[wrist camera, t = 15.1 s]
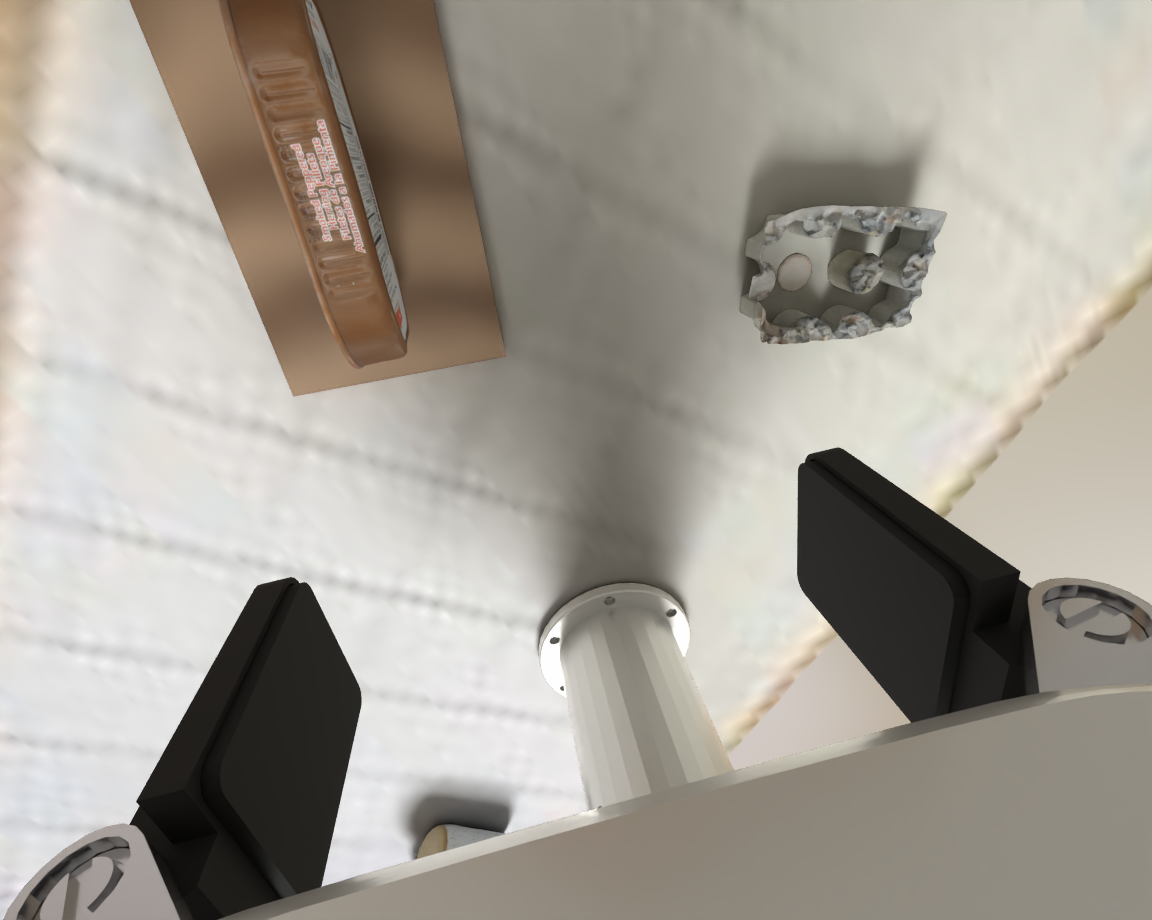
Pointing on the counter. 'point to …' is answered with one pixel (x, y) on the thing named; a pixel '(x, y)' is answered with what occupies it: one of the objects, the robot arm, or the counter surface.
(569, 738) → the counter surface
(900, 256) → the egg carton
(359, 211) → the tin
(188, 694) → the counter surface
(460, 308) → the walnut board
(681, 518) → the counter surface
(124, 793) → the counter surface
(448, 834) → the ceramic mug
